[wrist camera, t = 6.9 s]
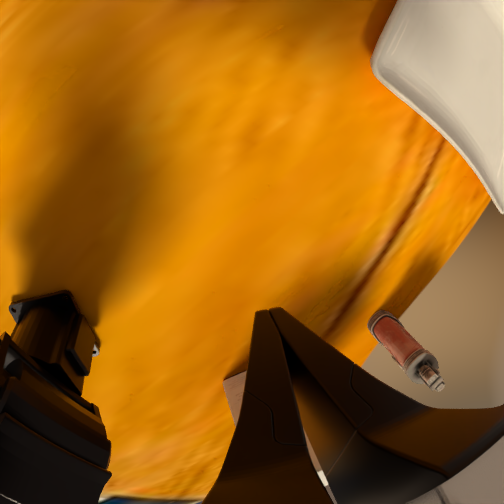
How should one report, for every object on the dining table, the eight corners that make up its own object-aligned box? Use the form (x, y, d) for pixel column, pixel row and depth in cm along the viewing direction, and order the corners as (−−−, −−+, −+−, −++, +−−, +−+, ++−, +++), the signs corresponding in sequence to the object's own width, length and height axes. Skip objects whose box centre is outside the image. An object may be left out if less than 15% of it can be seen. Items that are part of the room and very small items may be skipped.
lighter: (361, 327, 29) (416, 391, 21) (383, 304, 29) (443, 364, 20) (388, 348, 33) (433, 402, 25) (406, 329, 33) (455, 380, 24)
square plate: (522, 58, 21) (541, 61, 17) (484, 207, 29) (506, 218, 26) (410, -83, 10) (432, -91, 6) (340, 74, 18) (372, 69, 14)
